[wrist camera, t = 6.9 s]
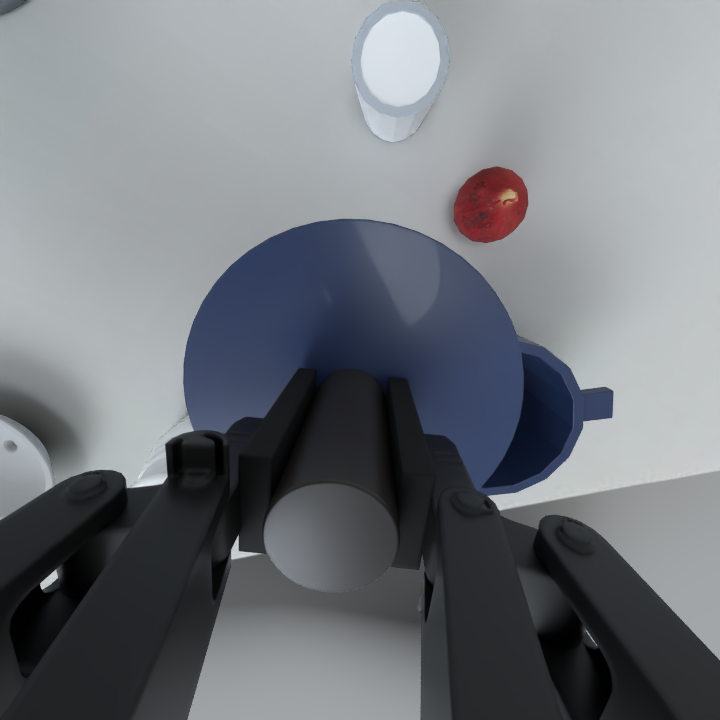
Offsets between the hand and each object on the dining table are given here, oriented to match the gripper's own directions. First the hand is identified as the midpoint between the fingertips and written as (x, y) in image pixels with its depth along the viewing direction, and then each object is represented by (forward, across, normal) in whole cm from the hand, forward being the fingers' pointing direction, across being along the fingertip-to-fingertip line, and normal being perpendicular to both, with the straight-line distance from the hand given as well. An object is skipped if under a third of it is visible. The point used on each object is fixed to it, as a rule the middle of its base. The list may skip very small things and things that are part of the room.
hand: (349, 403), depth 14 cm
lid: (+1, 0, 0) cm, 1 cm away
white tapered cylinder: (+22, +1, +19) cm, 30 cm away
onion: (+22, +10, +11) cm, 27 cm away
